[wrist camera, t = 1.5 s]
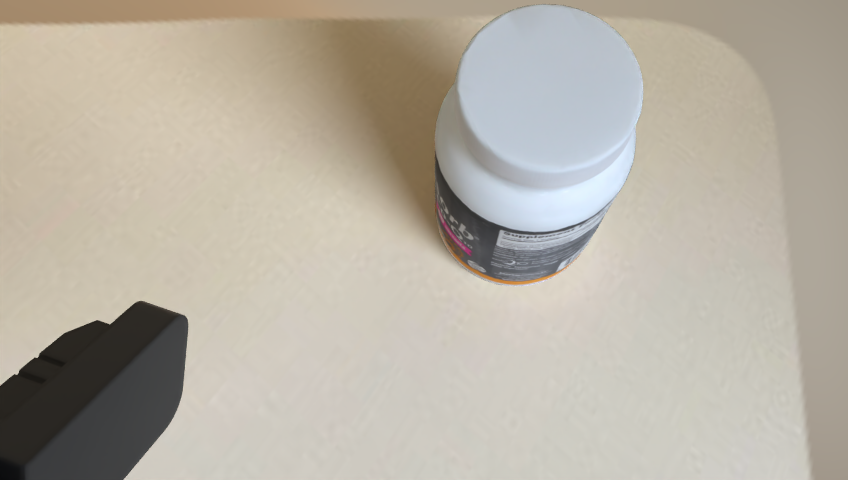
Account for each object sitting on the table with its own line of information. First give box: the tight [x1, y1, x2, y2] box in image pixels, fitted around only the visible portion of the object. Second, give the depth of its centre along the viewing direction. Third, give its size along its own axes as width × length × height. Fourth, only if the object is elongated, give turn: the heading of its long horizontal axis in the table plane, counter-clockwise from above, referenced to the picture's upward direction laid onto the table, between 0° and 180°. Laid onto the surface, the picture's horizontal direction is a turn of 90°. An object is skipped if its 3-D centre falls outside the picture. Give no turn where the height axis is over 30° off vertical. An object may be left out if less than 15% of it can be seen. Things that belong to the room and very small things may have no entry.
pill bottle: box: [435, 4, 643, 286], centre depth 24 cm, size 6×6×10 cm
